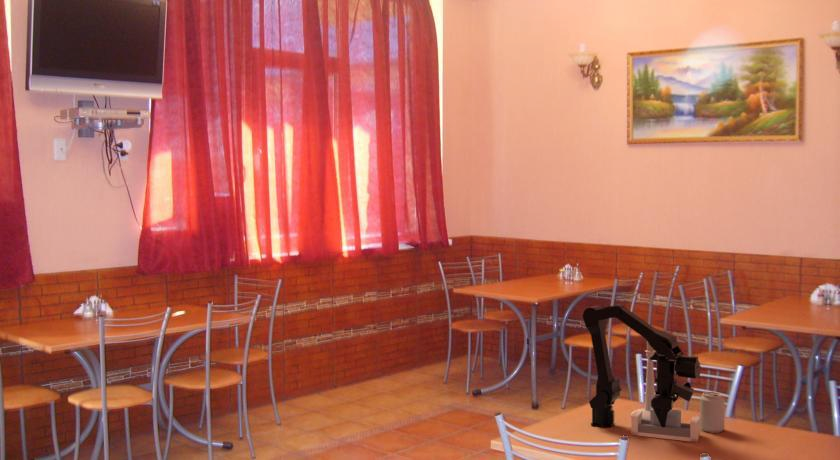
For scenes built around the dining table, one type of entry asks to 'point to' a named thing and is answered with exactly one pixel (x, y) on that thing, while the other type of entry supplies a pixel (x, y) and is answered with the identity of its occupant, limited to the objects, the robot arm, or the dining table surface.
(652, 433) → the track
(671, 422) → the grey rectangular block
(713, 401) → the can
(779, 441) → the dining table surface
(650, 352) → the candlestick
